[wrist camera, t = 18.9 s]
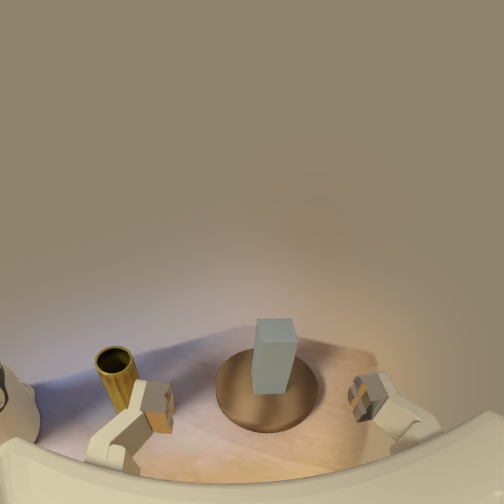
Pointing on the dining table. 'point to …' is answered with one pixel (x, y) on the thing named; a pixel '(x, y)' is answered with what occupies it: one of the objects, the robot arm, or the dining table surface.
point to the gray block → (273, 355)
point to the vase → (117, 374)
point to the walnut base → (264, 396)
